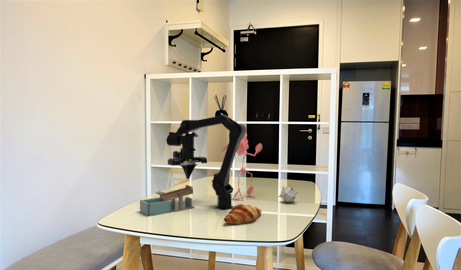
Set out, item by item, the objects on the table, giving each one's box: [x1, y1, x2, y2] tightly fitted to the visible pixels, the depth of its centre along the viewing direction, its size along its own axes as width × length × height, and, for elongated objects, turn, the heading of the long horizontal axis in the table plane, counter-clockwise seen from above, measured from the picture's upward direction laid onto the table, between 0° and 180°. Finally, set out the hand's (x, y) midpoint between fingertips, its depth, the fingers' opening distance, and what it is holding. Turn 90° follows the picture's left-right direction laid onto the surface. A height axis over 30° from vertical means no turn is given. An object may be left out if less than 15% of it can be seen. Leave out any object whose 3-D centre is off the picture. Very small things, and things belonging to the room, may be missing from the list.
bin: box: [139, 196, 172, 217], centre depth 129 cm, size 9×11×5 cm
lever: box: [155, 184, 194, 201], centre depth 139 cm, size 16×14×3 cm
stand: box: [171, 194, 196, 213], centre depth 136 cm, size 9×11×7 cm
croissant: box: [223, 203, 262, 225], centre depth 119 cm, size 21×10×8 cm, turn 136°
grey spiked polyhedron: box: [278, 185, 299, 204], centre depth 147 cm, size 9×8×10 cm
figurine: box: [221, 133, 263, 202], centre depth 158 cm, size 15×26×35 cm, turn 133°
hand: (187, 178), depth 143 cm, fingers closed
